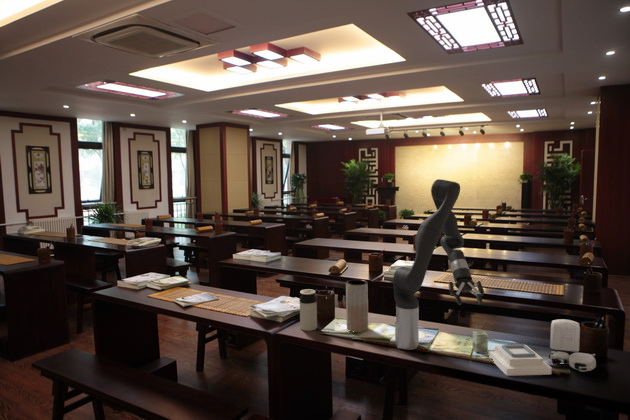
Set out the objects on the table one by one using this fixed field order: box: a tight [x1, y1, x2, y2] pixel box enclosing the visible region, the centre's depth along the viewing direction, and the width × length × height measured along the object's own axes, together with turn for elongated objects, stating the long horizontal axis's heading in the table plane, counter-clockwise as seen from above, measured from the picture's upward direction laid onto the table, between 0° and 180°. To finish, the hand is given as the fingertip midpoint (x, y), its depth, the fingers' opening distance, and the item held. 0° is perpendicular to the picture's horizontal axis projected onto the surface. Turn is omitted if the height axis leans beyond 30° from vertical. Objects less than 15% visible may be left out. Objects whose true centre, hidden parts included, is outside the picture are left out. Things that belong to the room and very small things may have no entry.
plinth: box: [487, 343, 552, 377], centre depth 155 cm, size 16×16×6 cm
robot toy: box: [546, 350, 597, 373], centre depth 154 cm, size 12×4×15 cm
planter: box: [345, 278, 369, 333], centre depth 194 cm, size 10×10×23 cm
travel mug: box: [299, 288, 318, 332], centre depth 197 cm, size 8×8×18 cm
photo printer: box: [549, 318, 581, 353], centre depth 167 cm, size 10×4×12 cm, turn 72°
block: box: [472, 330, 489, 353], centre depth 168 cm, size 4×4×8 cm
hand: (470, 303), depth 178 cm, fingers open, 8 cm apart
